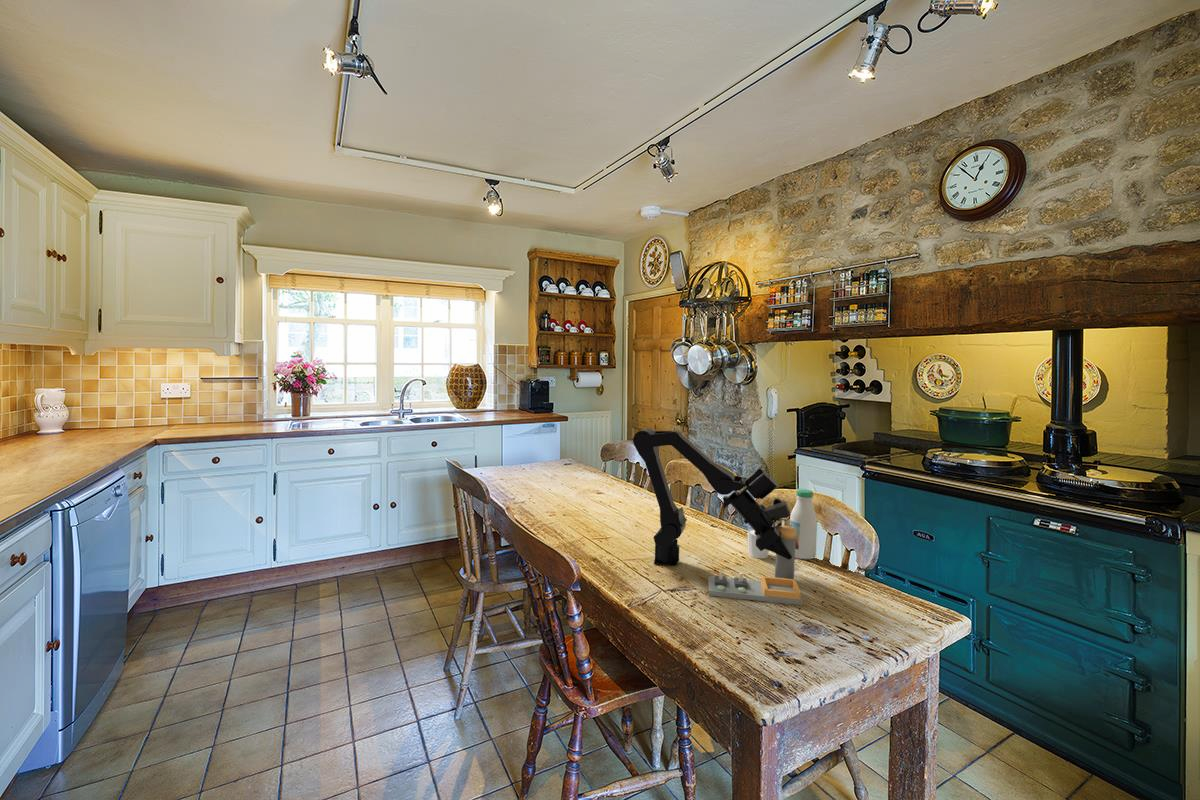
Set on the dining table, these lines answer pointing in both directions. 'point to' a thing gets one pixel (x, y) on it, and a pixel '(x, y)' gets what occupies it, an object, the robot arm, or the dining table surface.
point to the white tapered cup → (753, 548)
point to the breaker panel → (756, 589)
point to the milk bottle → (804, 525)
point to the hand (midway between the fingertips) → (790, 555)
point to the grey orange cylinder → (788, 537)
